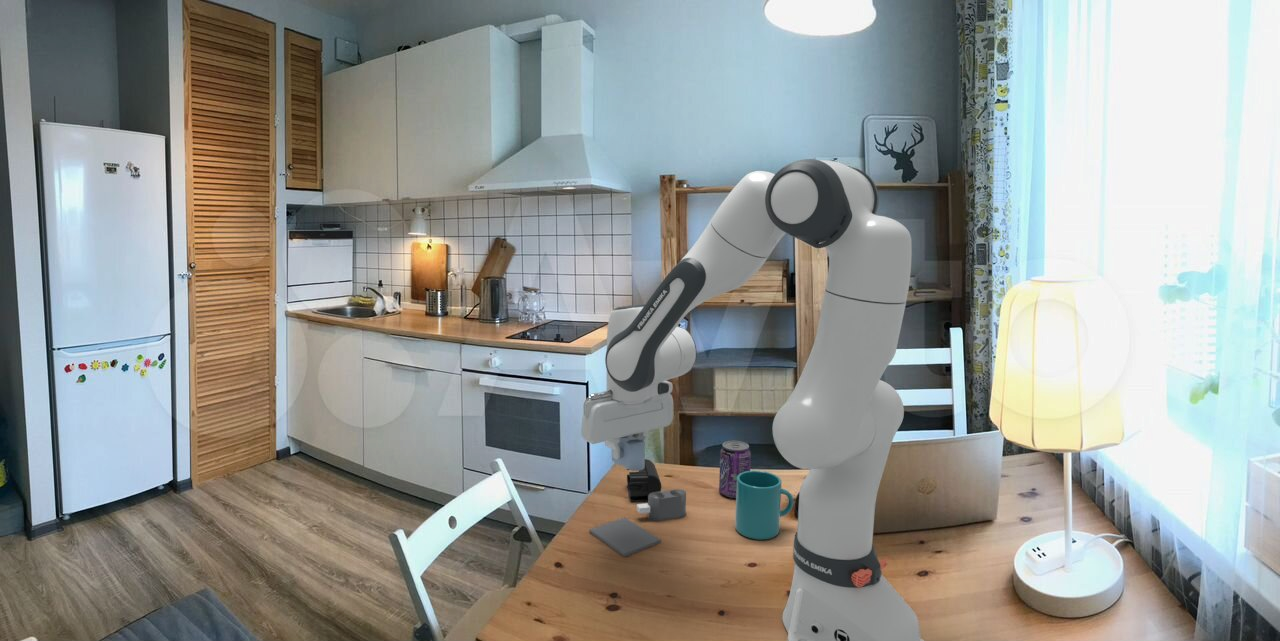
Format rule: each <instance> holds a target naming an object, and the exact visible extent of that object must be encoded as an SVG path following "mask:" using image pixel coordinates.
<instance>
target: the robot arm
mask: <svg viewBox="0 0 1280 641" xmlns="http://www.w3.org/2000/svg"><path fill="white" fill-rule="evenodd" d="M879 203H880V195H879V191H878V187H877V186H876V183H875V181H874V180H873V179H872V178H871V177H870V176H869V175H868V174H867V173H865V172H864V171H863V170H860V169H859V168H857V167H853V166H847V165H845V164H844V163H841V162H838V161H836V160H835V161H834V160H828V159H827V160H825V159H823V160H822V159H819V160H818V159H814V158H806V159H800V160H796V161H793V162H790V163H789V164H786V165H785V166H783V167H782V168H780V169H779V170H778V171H777V172H776V173H774V172H773V173H772V172H771V171H766V170H755V171H752V172H751V171H750V172H749V173H747V174H745V176H743V177H742V178H741V179H740V181H739V182H738V183H737V184H735V186H734V187H733V188H732V190H731V191H730V192H729V193H728V195H726V197H725V199H724V200H723V201H722V202H721V203H720V205H719V207H718V208H717V210H715V213H714V214H713V216H712V217H711V218H710V220H709V222H708V224H707V225H706V227H705V229H703V231H702V232H701V234H700V236H698V237H699V238H698V239H697V240H696V241H695V242H694V244H693V245H692V247H691V248H690V249H689V250H688V252H687V253H686V254H685V255H684V256H683V257H682V259H680V261H678V263H676V265H674V267H673V268H672V269H671V270H670V272H668V274H667V275H666V276H665V278H663V280H662V281H661V283H660V284H659V285H658V287H657V288H656V289H655V291H653V293H652V295H651V296H650V297H649V298H648V300H647V302H646V303H645V304H643V303H640V304H639V303H638V304H632V305H623V306H617V307H616V308H614V309H613V310H611V312H610V314H609V318H608V322H607V333H606V334H607V335H606V352H605V358H604V359H605V361H604V362H605V363H604V364H605V369H606V390H605V391H601V392H598V393H597V392H595V393H591V394H589V396H588V397H587V398H586V399H585V400H584V401H583V403H582V404H583V405H582V406H583V408H582V411H583V412H582V413H583V414H582V419H581V429H580V430H581V431H580V435H581V438H583V440H584V441H586V442H587V443H590V444H592V445H596V444H600V443H605V441H608V443H609V444H610V446H611V448H612V449H613V458H615V459H620V458H623V457H624V455H623V454H624V450H623V449H621V448H619V446H618V444H617V443H619V442H620V438H621V437H625V436H629V435H632V436H633V435H636V434H637V435H638V436H637V438H638V439H640V440H642V441H644V442H645V443H647V440H648V439H649V435H650V431H653V430H656V429H657V430H658V429H660V428H661V429H662V428H666V427H669V426H671V424H672V422H673V420H674V398H673V396H672V394H671V393H672V392H673V388H674V387H673V382H670V381H669V380H671V379H675V378H678V377H681V376H683V375H686V374H687V373H690V372H691V371H692V369H693V368H694V365H695V364H696V361H697V355H698V353H697V345H696V342H695V340H694V337H693V336H692V335H691V333H690V332H689V331H688V330H687V329H686V328H684V327H681V326H679V324H680V323H681V321H682V320H683V319H684V318H685V317H686V316H687V315H688V314H689V313H690V311H692V310H693V309H695V308H696V307H698V306H699V305H701V304H703V303H704V302H707V301H709V300H711V299H714V298H715V297H718V296H721V295H724V294H726V293H728V292H731V291H734V290H737V289H739V288H741V287H743V286H744V285H746V283H748V281H750V279H752V278H753V277H754V276H755V274H757V273H758V272H759V271H760V269H761V268H762V267H763V265H764V264H765V262H766V261H767V260H768V258H769V257H770V255H771V254H772V252H773V251H774V249H775V247H776V246H777V245H778V243H779V242H780V240H781V239H782V238H783V237H784V236H785V235H786V234H787V235H789V236H791V237H792V238H795V239H797V240H800V241H801V242H803V243H804V244H807V245H809V246H810V247H813V248H814V249H823V248H824V249H825V250H826V252H827V255H828V269H827V270H828V273H827V277H826V282H825V287H824V293H823V299H822V305H821V310H820V314H819V320H818V325H817V331H816V335H815V338H814V343H813V346H812V349H811V350H810V354H809V356H808V358H807V361H806V362H805V366H804V367H803V369H802V371H801V375H800V376H799V378H798V381H797V382H796V385H795V387H794V389H793V391H792V392H791V394H790V396H789V397H788V399H787V400H786V402H785V403H783V405H782V406H781V408H779V410H778V411H777V413H775V414H776V415H775V416H774V418H773V422H772V436H773V437H772V438H773V441H774V445H775V447H776V448H777V451H778V452H779V454H780V455H781V456H782V458H784V460H786V461H787V462H788V463H789V464H790V465H792V466H793V467H795V468H798V469H803V470H809V471H808V473H807V475H806V476H805V478H804V479H803V481H802V483H801V486H800V489H799V494H798V512H797V531H796V532H795V534H794V539H793V550H792V559H793V561H794V568H793V577H792V580H791V587H790V591H789V594H788V595H789V596H788V599H787V602H786V605H785V608H784V609H783V612H782V624H783V625H784V628H785V630H786V632H787V639H786V641H925V640H924V639H923V638H922V637H921V632H920V624H919V619H918V616H917V615H916V612H915V611H914V610H913V609H912V608H911V606H910V605H909V604H908V603H907V602H906V601H905V600H904V598H902V596H901V595H900V594H899V593H898V592H897V591H896V589H895V587H893V586H892V585H891V583H890V582H889V581H888V579H887V578H885V576H884V575H883V574H882V572H883V571H882V569H885V568H886V567H887V566H888V560H889V558H888V557H885V558H884V559H881V560H880V561H879V558H878V556H877V553H876V549H875V546H874V544H873V537H874V527H875V526H874V524H875V523H874V522H875V510H876V504H877V503H876V502H877V496H878V492H879V489H880V488H879V487H880V485H881V480H882V477H883V475H884V471H885V468H886V464H887V461H888V457H889V453H890V450H891V446H892V443H893V440H894V438H895V435H896V433H897V432H898V430H899V429H900V427H901V424H902V422H903V419H904V414H905V410H904V408H905V407H904V403H903V400H902V397H901V396H900V394H899V393H898V391H897V390H896V389H895V388H894V387H893V386H892V385H891V384H889V383H887V382H886V381H884V380H881V378H882V377H883V374H884V372H885V371H886V369H887V367H888V366H889V365H890V363H891V362H892V361H893V359H894V357H895V355H896V354H897V353H896V352H897V348H898V344H899V338H900V334H901V329H902V323H903V319H904V314H905V310H906V306H907V301H908V300H907V299H908V295H909V288H910V281H911V271H912V257H913V256H912V251H913V250H912V236H911V233H910V231H909V230H908V229H907V227H906V226H904V225H903V223H900V222H899V221H897V220H895V219H893V218H891V217H889V216H888V217H887V216H884V215H877V213H878V209H879V205H880V204H879ZM611 448H610V449H611ZM612 449H611V450H612Z"/></svg>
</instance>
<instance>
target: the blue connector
mask: <svg viewBox="0 0 1280 641" xmlns="http://www.w3.org/2000/svg"><path fill="white" fill-rule="evenodd" d="M617 444H618V446H619V448H621V449H623V450H624V454H623V455H624V457H623V458H620V459H615V458H613V449H612V448H611V446H610V444H609V443H608V441H605V442H604V446H606V447H607V448H609V449H611V460H612V462H614V463H616V464H618V465H620V466H622V467H623V468H626V470H627V469H629V470H628V471H631V472H639V471H640V470H643V469H644V468H645V459H646V457H645V456H646V453H645V452H646V442H644V441H642V440H640V439H638V437H636V436H633V435H629V436H625V437H621V438H620V442H619V443H617Z"/></svg>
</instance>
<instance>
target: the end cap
mask: <svg viewBox="0 0 1280 641" xmlns="http://www.w3.org/2000/svg"><path fill="white" fill-rule="evenodd" d="M626 470H627V471H630V470H629V469H627V468H626ZM660 479H661V478H660V476H659V474H658V470H657V467H656V465H655V463H654V462H653V461H652V460H650V459H647V458H645V468H644V469H643V470H640V471H630V472H629V474H626V482H627V484H626V487H627V494H628V498H629V502H630V503H648V495H649V494H650V493H653V492H660V491H662V483H661V480H660Z"/></svg>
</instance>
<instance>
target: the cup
mask: <svg viewBox="0 0 1280 641" xmlns="http://www.w3.org/2000/svg"><path fill="white" fill-rule="evenodd" d="M782 483H783V482H782V478H780V477H779V476H778V475H776V474H774V473H771V472H768V471H763V470H750V471H746V472H742V473H740V474H739V475H738V476H737V485H736V498H735V518H734V519H735V521H734V523H735V524H734V527H735V529H736V531H737V532H738V533H739V534H740V535H742V536H743V537H744V538H745V537H746V538H749V539H753V540H757V541H759V540H760V541H761V540H770V539H774V538H775V537H776V536H777V535H778V534H779V532H780V526H781V525H780V524H781V517H785V516H786V515H788V514H789V513H790V512H791V511H792V509H793V506H794V497H793V495H792V493H791V492H789V490H787V489H785V488H782ZM782 495H784V496H786V497H787V500H788V503H787V506H786V507H785V508H784V509H782V510H781V507H782V506H781V502H782V500H781V499H782Z"/></svg>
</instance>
